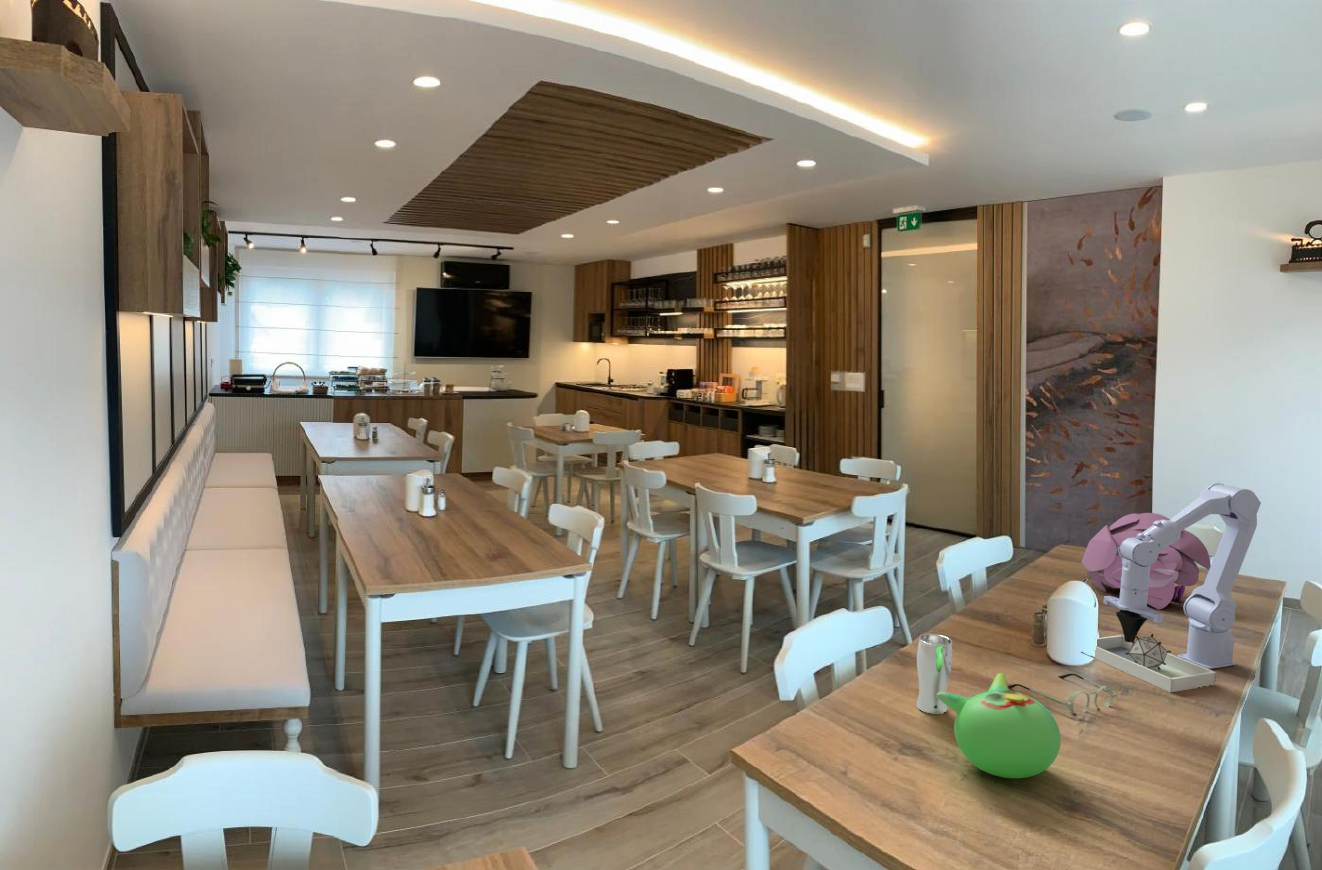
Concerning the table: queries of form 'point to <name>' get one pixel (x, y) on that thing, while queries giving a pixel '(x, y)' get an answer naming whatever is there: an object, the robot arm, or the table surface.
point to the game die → (1148, 652)
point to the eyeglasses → (1073, 696)
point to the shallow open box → (1169, 677)
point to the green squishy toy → (1004, 731)
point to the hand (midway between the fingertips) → (1129, 641)
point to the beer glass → (933, 671)
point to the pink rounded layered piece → (1166, 570)
